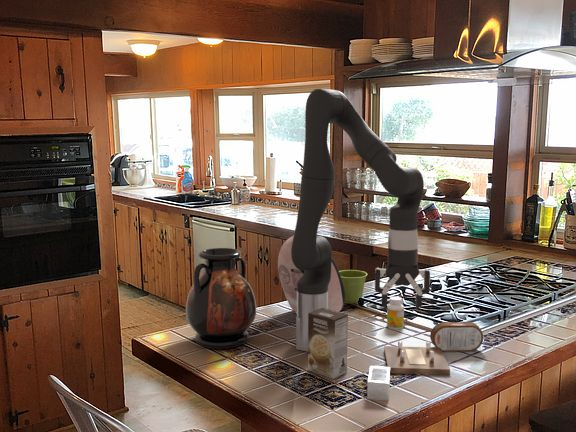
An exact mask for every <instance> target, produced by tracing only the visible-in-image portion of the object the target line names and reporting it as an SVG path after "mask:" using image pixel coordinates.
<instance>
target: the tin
mask: <svg viewBox="0 0 576 432" xmlns="http://www.w3.org/2000/svg"><path fill="white" fill-rule="evenodd" d="M429 337H430V338H429V339H430V343H431V344H432V345H433V346H434V347H438V348H441V350H442V352H445V353H446V352H451V353H452V352H453V353H455V352H460V353H461V352H474V351H476V350H478V349H479V348H481V345H482V344H483V342H484V334H483V331H482V329H481V328H480V326H479V325H477V324H476V323H475V322H471V321H456V322H455V321H444V322H443V321H441V322H440V323H437V324H436V325H434V326H433V327H432V329H431V331H430V335H429Z"/></svg>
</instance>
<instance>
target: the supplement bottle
mask: <svg viewBox="0 0 576 432" xmlns="http://www.w3.org/2000/svg"><path fill="white" fill-rule="evenodd" d="M402 303H403V298H402V297H400V296H391V297H389V303H387V308H386V310H387V311H386V327H387V328H389V329H395V330H397V329H398V330H399V329H403V328H404V325H405V321H404V320H405V306H404V305H403V304H402Z"/></svg>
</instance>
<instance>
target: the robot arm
mask: <svg viewBox="0 0 576 432" xmlns="http://www.w3.org/2000/svg"><path fill="white" fill-rule="evenodd" d="M304 113H305V117H304V119H305V127H304V129H305V130H304V131H305V134H304V149H303V151H304V153H303V165H302V172H301V180H300V181H301V182H300V189H299V190H300V193H299V202H298V203H299V204H298V209H297V210H298V211H297V216H296V223H295V229H294V233H293V235H294V237H293V242H292V248H291V258H292V261H293V264H294V265H295V267H296V268H297V269H299V270H302V271H305V272H304V274H303V276H302V277H301V278H300V279H299V280H298V282H297V313H296V317H295V334H296V335H295V339H296V340H295V343H296V345H295V349H296V350H297V351H302V352H307V353H308V313H310V312H313V311H315V310H317V309H320V308H325V309H328V285H329V283H330V279H331V266H332V258H333V255H332V253H333V252H332V247H331V243H330V242H329V240H327V238H326V237H324V236H322V235H318V231H319V225H320V222H321V219H322V217H323V215H324V213H326V210H327V208H328V206H329V204H330V202H331V200H332V197H333V192H334V185H335V177H336V176H335V174H336V173H335V172H336V170H335V166H334V163H333V159H332V156H331V153H330V151H329V146H328V133H329V126H330V125H329V124H334V125H336V126H338V128H340V129H341V130H343V131H344V132H345V134H347V136H348V137H349V138H350V140H351V143H352V145H353V148H354V150H355V152H356V154H357V155H358V156H359V157H360V158H361V160H362V161H363V162H364V163H365V164H366V165H367V166H369V168H370V169H371V170H373V172H374V173H375V176H376V177H377V179H378V181H379V182H380V184H381V186H382V188H384V190H385V191H386V192H387V193H388V194H390V195H392V196H394V197H397V200H396V201H397V202H396V204H395V205H393V206H391V208H390V210H389V227H388V235H387V236H388V237H387V266H386V268H380V267H375V269H374V291H375V293H380V294H381V306H382V307H384V309H387V306H388V292H389V291H390V290H391V288H392V287H393V286H394V285H395V286H396V287H398V286H399V287H400V286H403V287H407V286H408V287H409V286H410V285H411V287H412V288H413V290H414V291H415V292H416V293H415V310H416V311H417V310H420V308H422V306H423V305H422V304H423V295H425V294H429V293H430V292H431V289H430V288H431V272H430V269H429V268H425V269H419V267H418V259H419V257H418V256H419V255H418V254H419V253H418V252H419V234H418V219H419V218H418V213H419V208H420V205H421V202H422V199H423V193H424V187H425V184H424V183H425V182H424V177H423V174H422V173H421V171H420V170H419V169H417V168H416V167H409V166H408V167H400V165H399V164H397V163H396V162H397V158H398V157H397V155H396V153H395V152H394V151H393V149H392V148H390V147H389V145H387V143H386V142H384V141H383V140H382V139H381V138H380V137H379V136H378V135H377V134H376V133H375V132H374V131H373V130H372V129H371V128H370V127H369V125H368V124H367V123H366V121H365V120H364V118H363V117H362V116H361V115H360V113H359V112H358V111H357V109H356V108H355V107H354V105H353V104H352V102H351V101H350V100H349V98H348V97H347V95H345V94H344V93H343V92H342V91H340V90H339V89H338V90H337V89H331V88H315V89H313V90H311V92H310V93H309V94H308V96H307V100H306V103H305V112H304ZM384 274H386V276H387V277H388V280H387V281H386V283H385V284H384V286H383V287H382V286H381V278H383V276H384ZM419 275H421V278H422V279H423V287H422V288H421V287H420V286H419V284H418V282H417V281H416V279H417V277H418V276H419Z"/></svg>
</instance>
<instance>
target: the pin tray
mask: <svg viewBox="0 0 576 432" xmlns="http://www.w3.org/2000/svg"><path fill="white" fill-rule="evenodd" d="M431 344H432V342H431V341H426V343H425V346H403V341H402V340H401V341H400V340H399V341H397V346H395V345H393V346H391V345H388V346H387V345H384V347H383V349H384V350H383V351H384V352H383V353H384V358H385V362H386V363H385V364H386V367H390V374H403V375H404V374H405V375H406V374H407V375H408V374H409V375H411V374H412V375H437V376H438V375H441V376H451V368H450V366H449V364H448V362H447V360H446V359H447V358H446V356H445V355H444V353H443V352H444V351H442V350H441V348H438V347H435V346H434V347H433V346H431Z"/></svg>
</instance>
